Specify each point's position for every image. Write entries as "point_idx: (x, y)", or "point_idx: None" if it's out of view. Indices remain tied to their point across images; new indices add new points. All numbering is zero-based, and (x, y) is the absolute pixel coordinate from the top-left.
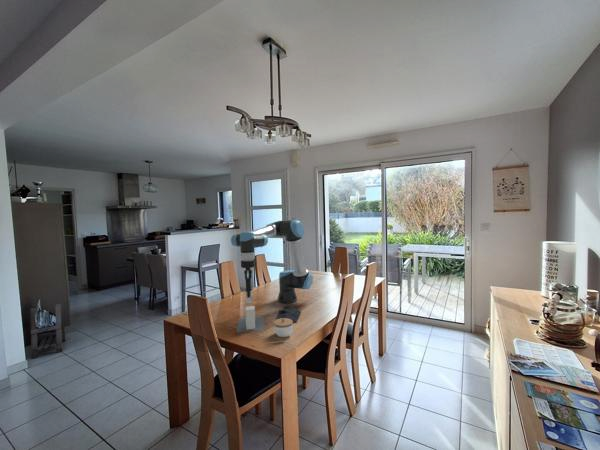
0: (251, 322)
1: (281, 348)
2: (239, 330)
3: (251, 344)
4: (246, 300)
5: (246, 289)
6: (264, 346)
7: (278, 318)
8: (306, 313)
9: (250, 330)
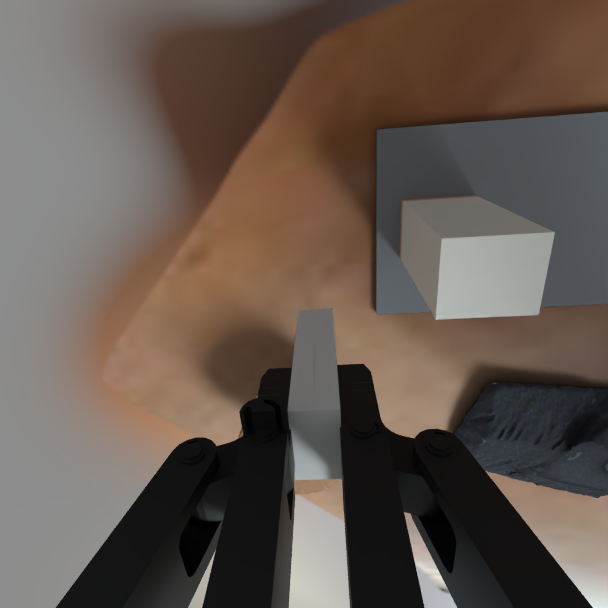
0: (410, 251)
1: (167, 384)
2: (413, 148)
3: (212, 247)
4: (296, 328)
5: (157, 478)
6: (187, 314)
7: (496, 397)
8: (556, 512)
9: (392, 228)
